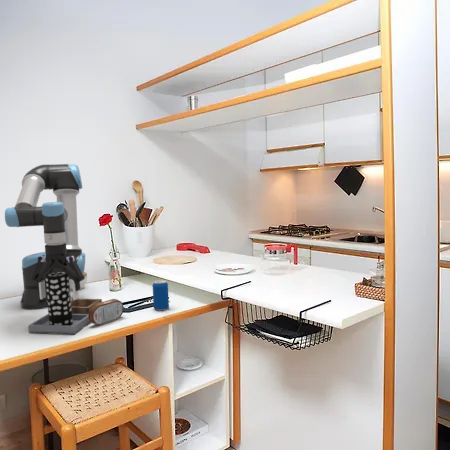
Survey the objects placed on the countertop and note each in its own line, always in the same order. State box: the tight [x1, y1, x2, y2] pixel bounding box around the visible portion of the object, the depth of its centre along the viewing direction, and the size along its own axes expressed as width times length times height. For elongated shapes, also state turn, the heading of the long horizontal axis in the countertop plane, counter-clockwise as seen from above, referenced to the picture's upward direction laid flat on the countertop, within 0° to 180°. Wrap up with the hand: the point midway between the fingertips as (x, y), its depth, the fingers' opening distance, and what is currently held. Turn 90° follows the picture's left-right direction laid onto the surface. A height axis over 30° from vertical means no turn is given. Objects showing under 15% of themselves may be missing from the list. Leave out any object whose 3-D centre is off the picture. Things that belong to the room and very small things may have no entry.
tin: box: [88, 298, 124, 326], centre depth 167 cm, size 15×3×8 cm, turn 141°
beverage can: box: [152, 279, 170, 312], centre depth 182 cm, size 6×6×12 cm
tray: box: [27, 313, 92, 336], centre depth 163 cm, size 18×14×3 cm
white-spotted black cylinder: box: [45, 271, 73, 326], centre depth 161 cm, size 8×8×20 cm
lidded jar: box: [69, 271, 88, 291], centre depth 219 cm, size 11×11×9 cm
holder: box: [71, 298, 103, 314], centre depth 177 cm, size 12×12×5 cm
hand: (59, 298), depth 162 cm, fingers open, 13 cm apart
